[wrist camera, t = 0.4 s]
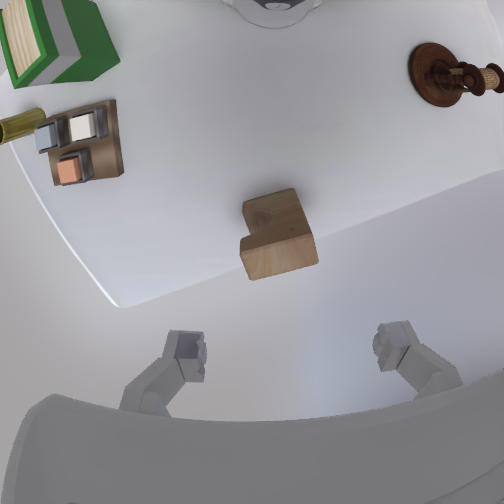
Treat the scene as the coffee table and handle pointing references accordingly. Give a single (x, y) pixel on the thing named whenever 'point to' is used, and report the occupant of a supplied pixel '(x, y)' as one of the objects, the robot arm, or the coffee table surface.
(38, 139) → the slate button
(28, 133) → the vase
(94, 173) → the block sorting tray
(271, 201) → the decorative block
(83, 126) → the cream button
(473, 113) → the coffee table surface
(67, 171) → the terracotta button
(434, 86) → the brown figurine
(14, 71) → the hardback book
